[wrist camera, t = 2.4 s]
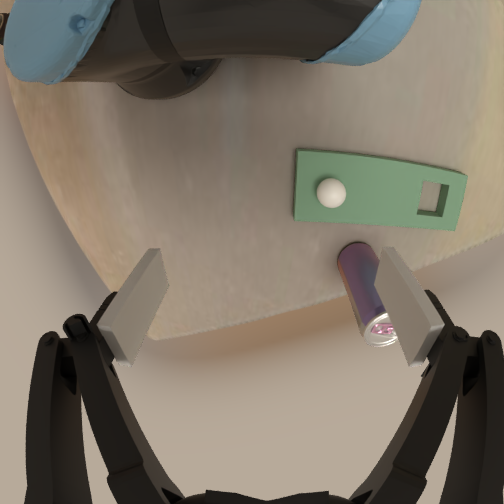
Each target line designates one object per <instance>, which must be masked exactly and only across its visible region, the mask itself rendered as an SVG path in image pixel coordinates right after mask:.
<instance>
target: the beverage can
mask: <svg viewBox="0 0 504 504" xmlns="http://www.w3.org/2000/svg"><path fill="white" fill-rule="evenodd" d="M379 261H380V260H379V259H378V257H377V256H376V254H375V252H374V251H373V249H372V248H371V247H370V246H369V245H367V244H363V243H355V244H351V245H349V246H348V247H346V248H345V249H344V250H343V251H342V252H341V254H340V256H339V258H338V268H339V271H340V274H341V277H342V280H343V282H344V285H345V288H346V291H347V294H348V297H349V300H350V302H351V305H352V309H353V312H354V315H355V318H356V321H357V324H358V327H359V330H360V333H361V335H362V337H363V338H364V340H365V342H366V343H367V344H368V345H370V346H373V347H383V346H387V345H389V344H392V343H394V342H396V341H397V340H398V337H397V335H396V333H395V330H394V328H393V326H392V323H391V321H390V319H389V316H388V314H387V312H386V310H385V307H384V305H383V303H382V301H381V299H380V297H379V295H378V292H377V290H376V288H375V286H374V283H375V279H376V274H377V270H378V266H379Z"/></svg>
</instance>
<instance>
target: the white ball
mask: <svg viewBox="0 0 504 504" xmlns="http://www.w3.org/2000/svg"><path fill="white" fill-rule="evenodd" d="M317 198H318V200H319V201H320V203H321V204H322V205H324V206H325V207H328V208H336V207H338V206H340V205H341V204H342V203H343V202H344V200H345V198H346V189H345V187H344V185H343V184H342V183H341V182H340V181H339V180H337V179H334V178H328V179H325V180H323V181H322V182H321V183H320V184H319V186H318V188H317Z"/></svg>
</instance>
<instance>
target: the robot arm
mask: <svg viewBox="0 0 504 504" xmlns="http://www.w3.org/2000/svg"><path fill="white" fill-rule="evenodd" d="M420 4H421V0H15V2H14V4H13V7H12V9H11V12H10V15H9V18H8V21H7V25H6V29H5V35H4V57H5V61H6V64H7V66H8V67H9V68H10V71H11V73H12V74H13V76H15V77H16V78H17V79H19V80H21V81H25V82H42V83H44V84H46V85H49V84H56V83H59V82H115V83H117V84H118V85H119V86H120V87H121V88H122V89H123V90H124V91H126V92H127V93H129V94H131V95H134V96H136V97H139V98H144V99H158V100H160V99H170V98H175V97H178V96H181V95H184V94H186V93H188V92H190V91H192V90H194V89H195V88H197V87H198V86H200V85H201V84H202V83H204V82H205V81H206V80H207V79H208V78H209V77H210V76H211V75H212V74H213V72H214V71H215V70H216V68H217V67H218V65H219V63H220V62H221V60H222V58H280V59H295V60H300V61H301V62H302V63H307V64H316V63H322V62H325V63H334V64H342V65H350V66H361V65H365V64H368V63H372V62H376V61H378V60H380V59H382V58H383V57H385V56H386V55H387V54H389V53H390V52H391V51H392V50H393V49H394V48H395V47H396V46H397V45H398V44H399V43H400V42H401V41H402V39H403V38H404V37H405V35H406V34H407V32H408V31H409V29H410V27H411V26H412V24H413V22H414V20H415V18H416V15H417V13H418V10H419V7H420ZM374 286H375V288H376V290H377V292H378V295H379V297H380V299H381V301H382V303H383V305H384V307H385V310H386V312H387V314H388V316H389V319H390V321H391V323H392V326H393V328H394V330H395V333H396V335H397V337H398V340H399V342H400V345H401V347H402V350H403V352H404V355H405V357H406V360H407V363H408V365H409V367H414V366H419V365H422V364H423V362H424V361H425V359H426V357H427V358H428V360H429V364H428V366H427V367H426V369H425V371H424V372H423V374H422V375H421V377H423V378H422V380H421V383H420V385H419V387H418V389H417V392H416V394H415V396H414V399H413V400H412V403H411V405H410V407H409V409H408V411H407V413H406V415H405V417H404V419H403V421H402V422H401V424H400V426H399V428H398V430H397V432H396V433H395V435H394V437H393V439H392V440H391V442H390V444H389V446H388V447H387V449H386V451H385V452H384V454H383V455H382V457H381V458H380V460H379V461H378V463H377V465H376V466H375V468H374V469H373V471H372V472H371V473H370V475H369V476H368V478H367V479H366V480H365V481H364V482H363V484H361V485H360V487H358V489H357V490H356V491H355V492H354V493H353V494H352V496H351V497H350V498H349V499H345V498H342V497H339V496H335V495H329V491H323V492H313V493H301V494H300V493H299V494H296V495H291V496H288V497H283V498H280V499H275V500H269V501H265V500H260V499H256V498H252V497H248V496H244V495H241V494H237V493H230V492H221V491H212V490H206V493H203V494H197V495H193V496H189V497H186V498H185V497H184V496H183V494H182V493H181V492H180V490H179V489H178V488H177V486H176V485H175V484H174V483H173V482H172V481H171V480H170V478H169V477H168V475H167V474H166V472H165V471H164V469H163V467H162V466H161V464H160V463H159V461H158V459H157V457H156V456H155V454H154V452H153V450H152V449H151V447H150V445H149V443H148V441H147V439H146V438H145V436H144V434H143V432H142V430H141V428H140V426H139V424H138V422H137V420H136V418H135V416H134V413H133V411H132V409H131V407H130V405H129V402H128V400H127V398H126V396H125V393H124V391H123V388H122V386H121V384H120V381H119V379H118V376H117V373H116V371H115V368H114V366H113V364H112V361H113V359H114V357H115V359H116V361H117V362H118V364H119V365H124V366H129V367H132V365H133V363H134V361H135V358H136V356H137V354H138V351H139V349H140V347H141V345H142V343H143V340H144V338H145V336H146V334H147V331H148V329H149V327H150V325H151V323H152V321H153V318H154V316H155V314H156V312H157V310H158V308H159V306H160V304H161V302H162V300H163V297H164V295H165V293H166V291H167V289H168V287H169V283H168V279H167V275H166V271H165V267H164V263H163V259H162V254H161V250H160V248H158V249H148V250H147V252H146V253H145V255H144V256H143V257H142V259H141V260H140V261H139V263H138V264H137V266H136V267H135V268H134V270H133V271H132V273H131V274H130V275H129V277H128V278H127V280H126V281H125V283H124V284H123V285H122V287H121V288H120V290H119V291H118V292H113V293H111V294H110V295H109V296H108V297H107V298H106V299H105V300H104V302H103V303H102V305H101V306H100V308H99V310H98V311H97V312H96V314H95V315H94V317H93V318H92V320H91V321H90V323H89V322H88V320H87V318H86V317H85V315H83V314H76V315H73V316H71V317H69V318H68V319H67V320H66V321H65V322H64V324H63V330H64V332H65V333H66V335H67V337H68V338H60V337H59V335H58V334H57V333H56V332H54V331H50V332H48V333H45V334H44V335H43V336H42V337H41V338H40V340H39V343H38V347H37V352H36V356H35V361H34V367H33V372H32V379H31V385H30V392H29V401H28V411H27V423H26V475H27V490H26V496H25V502H24V504H92V499H91V492H90V487H89V481H88V476H87V469H86V462H85V454H84V444H83V433H82V413H81V395H82V398H83V402H84V405H85V409H86V412H87V415H88V419H89V422H90V425H91V428H92V431H93V434H94V437H95V439H96V442H97V445H98V447H99V450H100V452H101V455H102V457H103V460H104V462H105V464H106V467H107V469H108V472H109V475H108V477H107V483H108V485H109V488H110V490H111V492H112V494H113V496H114V498H115V500H116V502H117V503H118V504H416V502H417V501H418V499H419V498H420V496H421V494H422V492H423V491H424V488H425V486H426V483H427V480H426V478H425V476H426V473H427V471H428V469H429V467H430V465H431V463H432V461H433V459H434V456H435V454H436V452H437V450H438V448H439V445H440V443H441V441H442V438H443V436H444V433H445V431H446V428H447V425H448V423H449V420H450V417H451V414H452V411H453V408H454V405H455V402H456V399H457V395H458V402H457V403H458V404H457V415H456V425H455V434H454V440H453V447H452V453H451V458H450V463H449V468H448V472H447V477H446V481H445V485H444V488H443V492H442V495H441V499H440V503H439V504H503V486H504V355H503V349H502V344H501V340H500V338H499V336H498V335H497V334H496V333H495V332H493V331H491V330H486V331H484V332H483V333H482V335H481V337H480V338H478V337H470V336H469V334H468V333H467V331H465V330H464V329H463V328H461V327H458V326H454V324H453V322H452V321H451V319H450V317H449V316H448V314H447V313H446V311H445V309H443V307H442V305H441V303H440V302H439V300H438V299H437V297H436V296H435V295H434V294H433V293H432V292H431V291H430V290H423V288H422V287H421V285H420V284H419V282H418V281H417V279H416V278H415V276H414V275H413V273H412V272H411V270H410V269H409V267H408V266H407V265H406V263H405V262H404V260H403V259H402V258H401V256H400V255H399V254H398V252H397V251H396V249H395V248H394V247H382V252H381V257H380V261H379V266H378V270H377V274H376V279H375V283H374Z"/></svg>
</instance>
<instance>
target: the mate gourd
mask: <svg viewBox="0 0 504 504" xmlns="http://www.w3.org/2000/svg"><path fill="white" fill-rule="evenodd" d="M9 15H10V13H8V14H7V13H0V44H1V45H4V35H5V29H6V25H7V21H8V18H9Z"/></svg>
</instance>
